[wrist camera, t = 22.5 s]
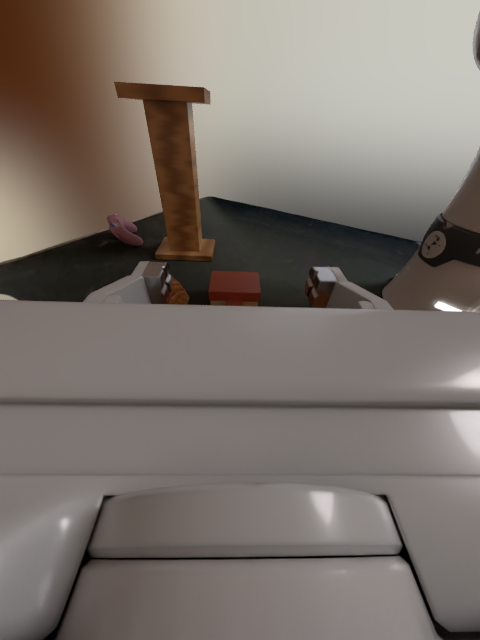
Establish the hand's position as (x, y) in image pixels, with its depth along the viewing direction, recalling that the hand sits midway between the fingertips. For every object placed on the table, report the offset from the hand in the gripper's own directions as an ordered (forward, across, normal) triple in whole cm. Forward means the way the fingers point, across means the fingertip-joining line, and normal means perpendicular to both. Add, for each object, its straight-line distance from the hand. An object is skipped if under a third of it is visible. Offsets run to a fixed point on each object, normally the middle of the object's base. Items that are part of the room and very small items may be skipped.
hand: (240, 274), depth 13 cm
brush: (+14, 0, +17) cm, 22 cm away
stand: (+37, +11, +17) cm, 42 cm away
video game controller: (+41, +26, +17) cm, 52 cm away
